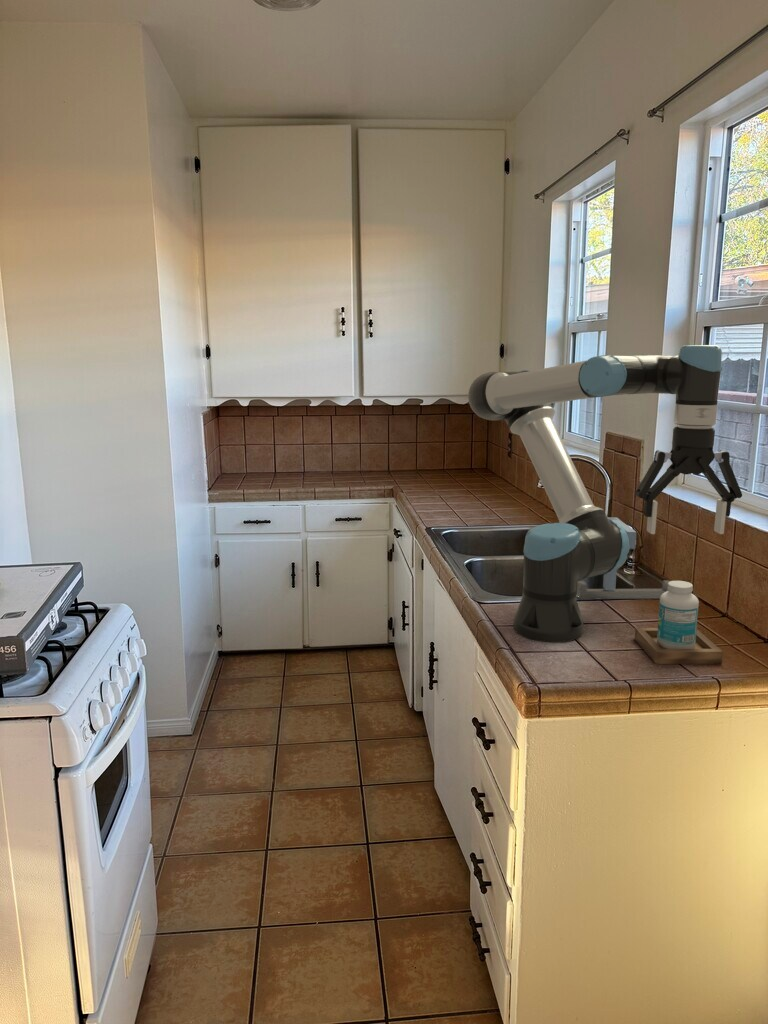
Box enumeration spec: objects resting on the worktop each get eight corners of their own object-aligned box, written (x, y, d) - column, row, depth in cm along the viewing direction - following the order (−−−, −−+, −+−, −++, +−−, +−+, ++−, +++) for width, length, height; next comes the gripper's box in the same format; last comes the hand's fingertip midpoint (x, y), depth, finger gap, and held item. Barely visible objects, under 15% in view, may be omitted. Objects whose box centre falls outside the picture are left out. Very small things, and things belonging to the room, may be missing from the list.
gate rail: (579, 599, 183) (580, 584, 183) (576, 595, 186) (577, 580, 185) (672, 599, 183) (673, 584, 182) (667, 595, 186) (669, 580, 185)
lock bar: (621, 607, 171) (626, 531, 167) (602, 587, 185) (607, 517, 182) (632, 607, 171) (637, 531, 167) (612, 587, 185) (616, 517, 182)
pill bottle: (663, 636, 156) (668, 576, 154) (699, 645, 152) (705, 582, 149) (651, 647, 151) (655, 584, 148) (688, 656, 146) (693, 591, 143)
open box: (656, 663, 145) (657, 651, 145) (634, 638, 158) (635, 628, 157) (721, 663, 145) (722, 651, 145) (694, 638, 158) (695, 627, 157)
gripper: (636, 428, 138) (628, 537, 143) (768, 428, 138) (756, 537, 143) (623, 424, 146) (616, 528, 150) (749, 424, 146) (738, 527, 150)
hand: (684, 532), depth 146 cm, fingers open, 13 cm apart
